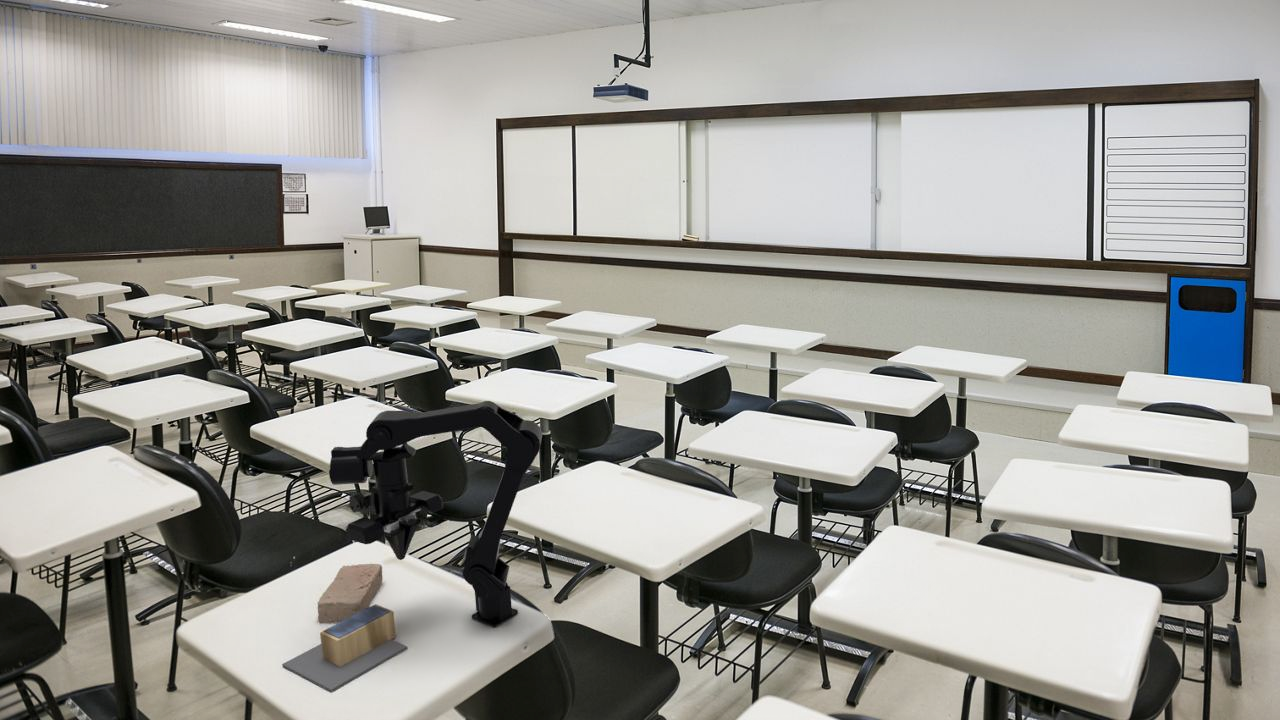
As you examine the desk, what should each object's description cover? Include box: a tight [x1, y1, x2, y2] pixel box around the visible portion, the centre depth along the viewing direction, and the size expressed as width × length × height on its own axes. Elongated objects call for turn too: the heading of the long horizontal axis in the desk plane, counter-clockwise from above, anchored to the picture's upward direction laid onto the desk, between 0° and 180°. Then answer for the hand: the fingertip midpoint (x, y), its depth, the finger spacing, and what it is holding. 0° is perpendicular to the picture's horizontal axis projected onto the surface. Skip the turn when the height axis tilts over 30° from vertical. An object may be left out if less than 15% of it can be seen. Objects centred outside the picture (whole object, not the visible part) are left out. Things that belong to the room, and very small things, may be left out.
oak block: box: [319, 603, 397, 667], centre depth 163 cm, size 5×5×12 cm
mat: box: [281, 638, 408, 693], centre depth 161 cm, size 14×16×1 cm
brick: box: [317, 563, 384, 624], centre depth 181 cm, size 17×8×5 cm, turn 0°
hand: (401, 558), depth 170 cm, fingers closed
